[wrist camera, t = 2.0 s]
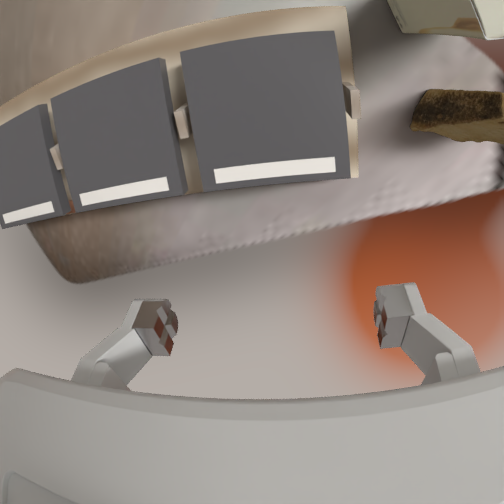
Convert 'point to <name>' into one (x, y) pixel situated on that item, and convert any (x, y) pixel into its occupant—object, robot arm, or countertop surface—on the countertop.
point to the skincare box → (451, 17)
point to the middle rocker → (120, 138)
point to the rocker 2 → (267, 110)
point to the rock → (461, 115)
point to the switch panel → (169, 49)
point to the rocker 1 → (29, 170)
